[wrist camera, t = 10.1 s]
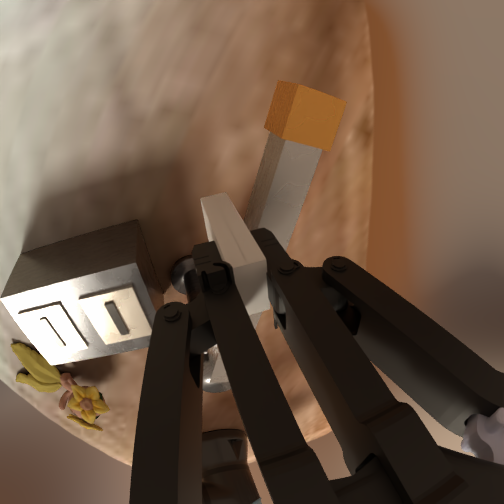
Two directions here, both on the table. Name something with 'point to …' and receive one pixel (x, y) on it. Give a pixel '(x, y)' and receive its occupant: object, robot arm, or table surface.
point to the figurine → (50, 380)
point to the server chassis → (86, 295)
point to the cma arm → (283, 178)
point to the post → (186, 278)
